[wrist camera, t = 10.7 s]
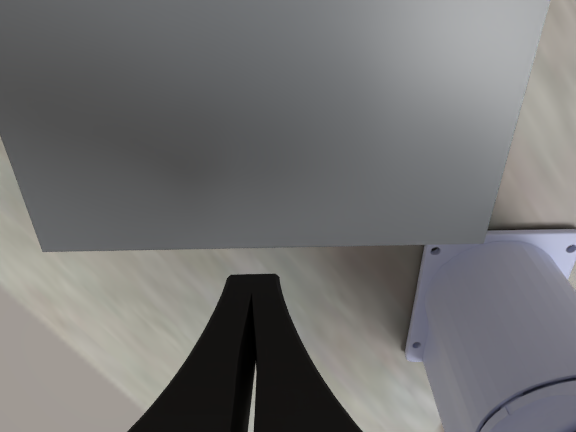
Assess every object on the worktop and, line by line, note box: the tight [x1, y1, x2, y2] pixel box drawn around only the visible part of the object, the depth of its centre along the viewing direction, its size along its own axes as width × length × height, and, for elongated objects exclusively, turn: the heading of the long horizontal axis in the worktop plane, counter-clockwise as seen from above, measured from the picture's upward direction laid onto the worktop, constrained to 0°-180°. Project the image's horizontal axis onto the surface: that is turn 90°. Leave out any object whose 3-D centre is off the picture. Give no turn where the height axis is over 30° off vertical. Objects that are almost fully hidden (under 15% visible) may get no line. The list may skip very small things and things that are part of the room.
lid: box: [0, 0, 550, 252], centre depth 16 cm, size 13×16×1 cm
